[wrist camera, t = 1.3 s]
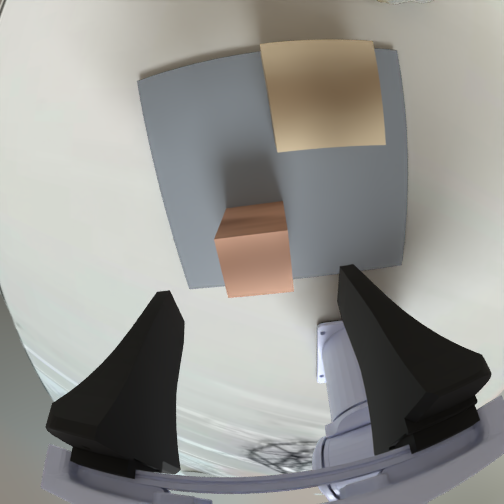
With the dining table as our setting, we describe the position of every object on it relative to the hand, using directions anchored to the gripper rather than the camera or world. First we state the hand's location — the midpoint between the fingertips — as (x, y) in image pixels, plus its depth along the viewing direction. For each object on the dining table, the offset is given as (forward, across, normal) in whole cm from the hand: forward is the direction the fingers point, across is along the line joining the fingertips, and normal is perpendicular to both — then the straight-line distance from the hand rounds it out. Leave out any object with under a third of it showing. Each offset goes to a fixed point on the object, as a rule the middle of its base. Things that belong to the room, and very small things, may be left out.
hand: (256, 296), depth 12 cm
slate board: (+10, -3, -2) cm, 11 cm away
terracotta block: (+9, 0, +2) cm, 9 cm away
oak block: (+10, -5, -7) cm, 13 cm away
